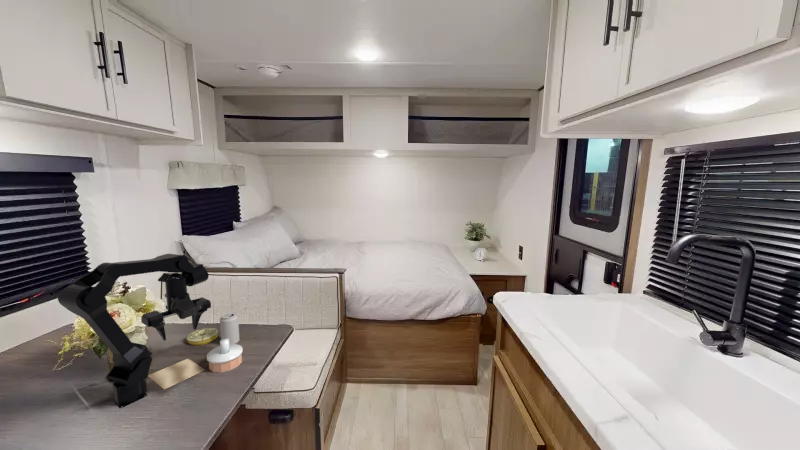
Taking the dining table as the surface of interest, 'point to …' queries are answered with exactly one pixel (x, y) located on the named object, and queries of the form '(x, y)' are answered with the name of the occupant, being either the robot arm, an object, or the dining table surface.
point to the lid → (224, 352)
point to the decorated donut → (202, 336)
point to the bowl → (225, 365)
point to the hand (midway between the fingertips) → (180, 334)
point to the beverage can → (230, 327)
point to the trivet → (175, 373)
